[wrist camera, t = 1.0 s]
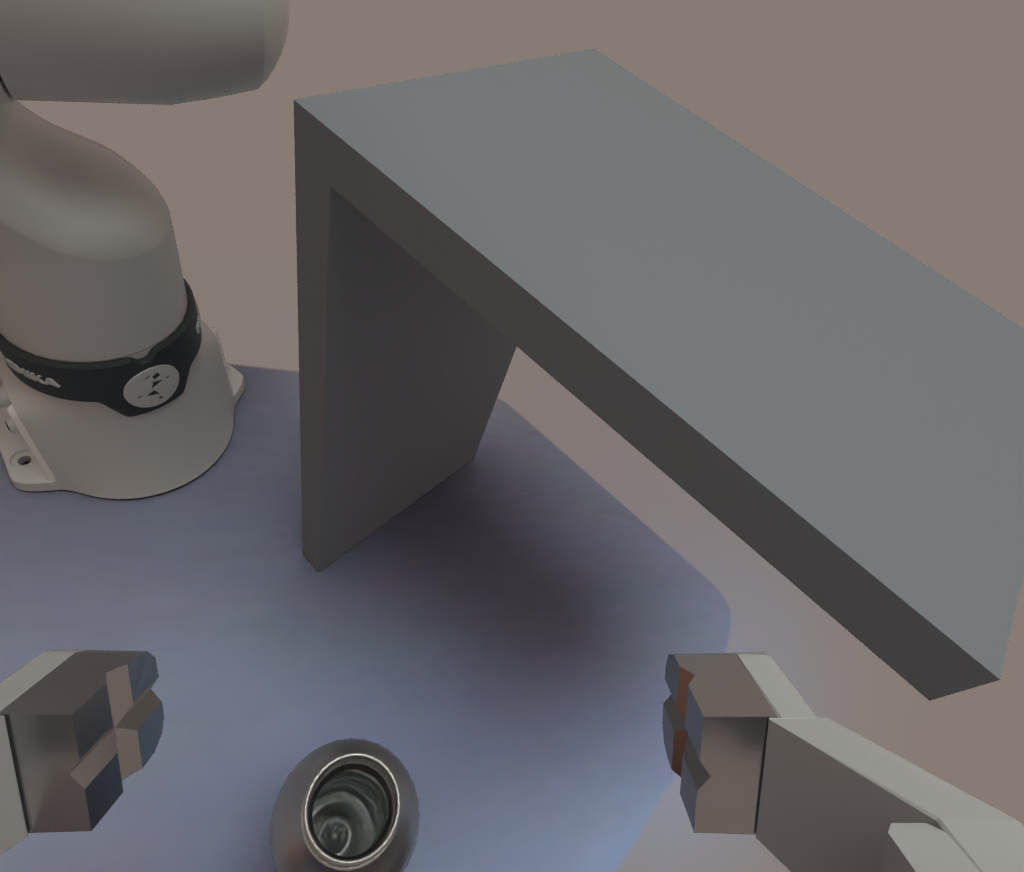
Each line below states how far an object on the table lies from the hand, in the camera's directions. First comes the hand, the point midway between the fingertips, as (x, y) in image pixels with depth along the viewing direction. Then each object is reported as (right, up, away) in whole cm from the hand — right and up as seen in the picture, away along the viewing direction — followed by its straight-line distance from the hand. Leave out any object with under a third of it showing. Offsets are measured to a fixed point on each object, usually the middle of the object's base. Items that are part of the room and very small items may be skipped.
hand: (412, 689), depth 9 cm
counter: (0, -10, +40) cm, 41 cm away
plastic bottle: (-10, -22, +28) cm, 37 cm away
